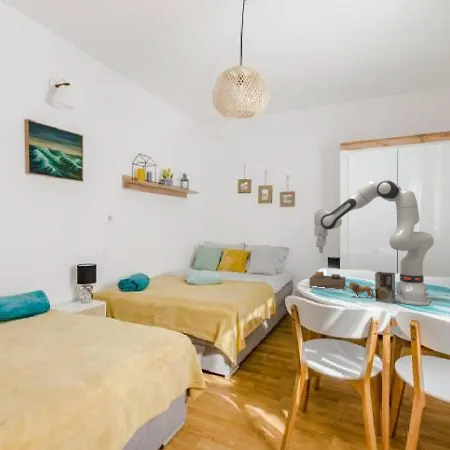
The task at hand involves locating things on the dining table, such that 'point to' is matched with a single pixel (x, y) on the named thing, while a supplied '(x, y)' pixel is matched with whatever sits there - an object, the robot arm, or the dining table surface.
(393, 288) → the coffee box
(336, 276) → the plunger grey
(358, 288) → the lion figurine
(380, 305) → the dining table surface
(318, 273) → the plunger terracotta
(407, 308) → the dining table surface
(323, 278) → the press block
